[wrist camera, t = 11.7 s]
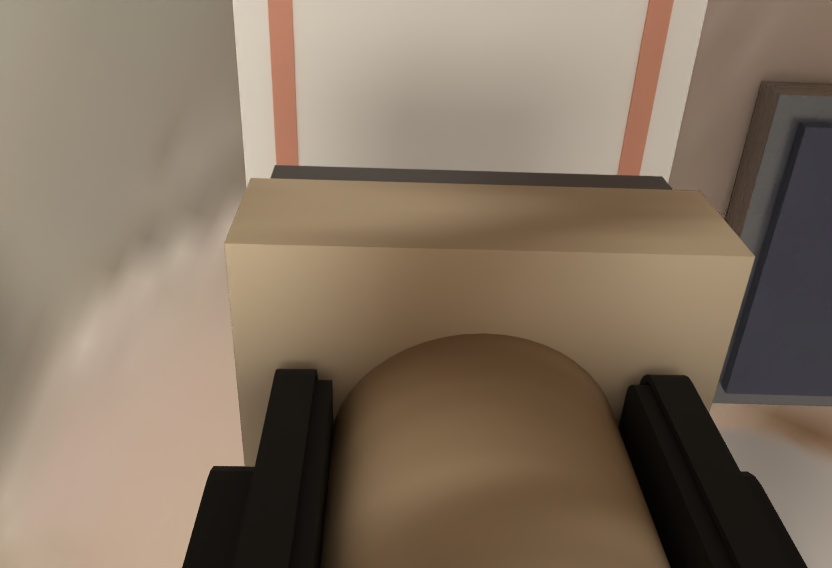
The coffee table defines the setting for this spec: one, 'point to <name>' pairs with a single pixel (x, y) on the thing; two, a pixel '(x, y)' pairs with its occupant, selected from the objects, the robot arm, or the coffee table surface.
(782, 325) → the ink pad
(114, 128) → the coffee table surface
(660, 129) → the paper
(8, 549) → the coffee table surface
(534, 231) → the stamp
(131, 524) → the coffee table surface
